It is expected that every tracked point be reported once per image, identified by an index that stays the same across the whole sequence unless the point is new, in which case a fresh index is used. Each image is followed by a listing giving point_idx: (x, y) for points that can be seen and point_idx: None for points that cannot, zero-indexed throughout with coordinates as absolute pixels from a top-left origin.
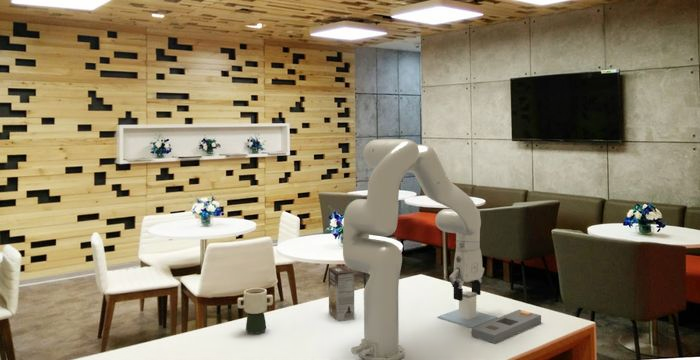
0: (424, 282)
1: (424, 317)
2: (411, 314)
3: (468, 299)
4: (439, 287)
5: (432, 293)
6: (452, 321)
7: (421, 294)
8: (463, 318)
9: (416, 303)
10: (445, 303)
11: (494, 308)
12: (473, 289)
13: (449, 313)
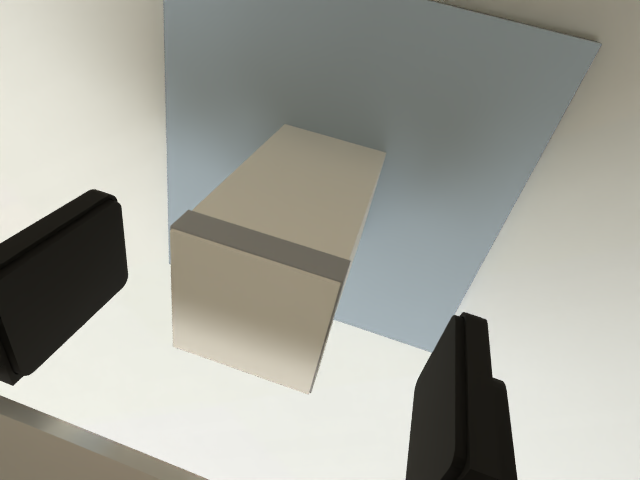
0: None
1: None
2: None
3: (349, 257)
4: None
5: (101, 417)
6: (487, 250)
7: (147, 447)
8: (381, 199)
9: (267, 452)
10: (170, 354)
11: (7, 77)
12: (92, 293)
13: None
